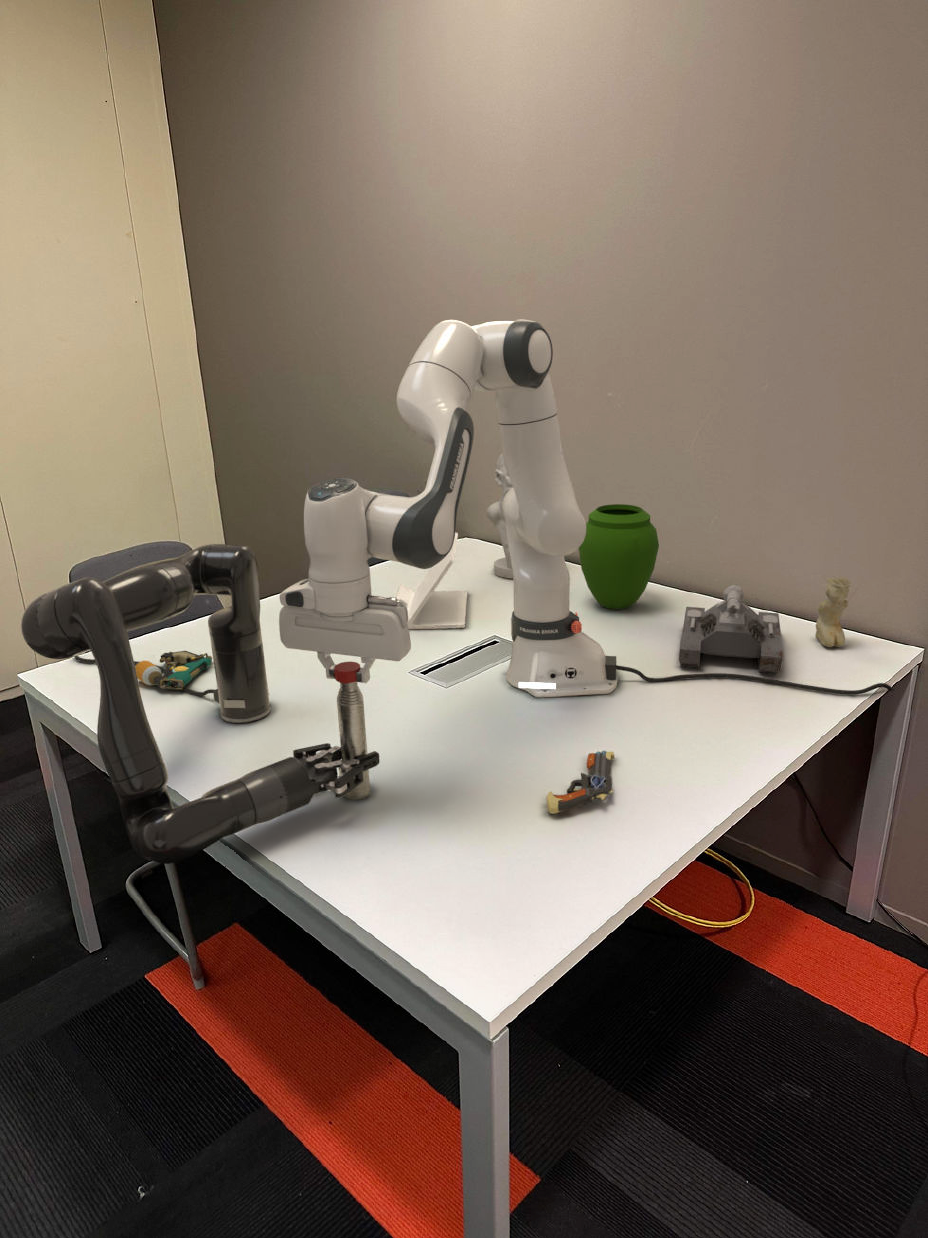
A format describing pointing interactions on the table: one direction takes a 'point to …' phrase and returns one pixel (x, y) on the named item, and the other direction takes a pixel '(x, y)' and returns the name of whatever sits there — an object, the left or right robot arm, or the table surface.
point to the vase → (618, 554)
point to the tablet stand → (435, 599)
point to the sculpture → (832, 613)
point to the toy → (732, 633)
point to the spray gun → (173, 669)
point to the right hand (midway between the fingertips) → (348, 679)
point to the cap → (346, 672)
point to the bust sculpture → (501, 520)
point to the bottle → (353, 732)
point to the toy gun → (586, 784)
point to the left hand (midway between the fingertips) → (369, 751)
